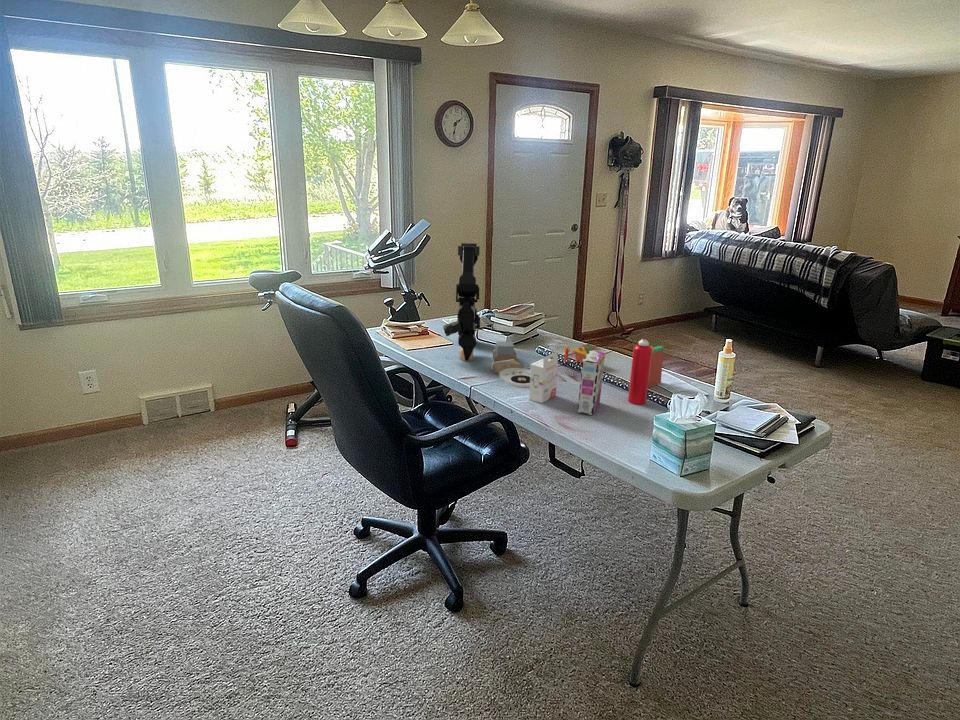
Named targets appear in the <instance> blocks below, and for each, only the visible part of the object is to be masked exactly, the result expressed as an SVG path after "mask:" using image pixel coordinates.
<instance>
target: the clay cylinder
mask: <svg viewBox="0 0 960 720" xmlns="http://www.w3.org/2000/svg"><path fill="white" fill-rule="evenodd" d="M459 360H460V361H462V362H471V361H473V360H474V350H473V351H472V353H471V355H470V358H469V360H468V361H466V360H465V357H464V352H463V348H462V347H460V348H459Z"/></svg>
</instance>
